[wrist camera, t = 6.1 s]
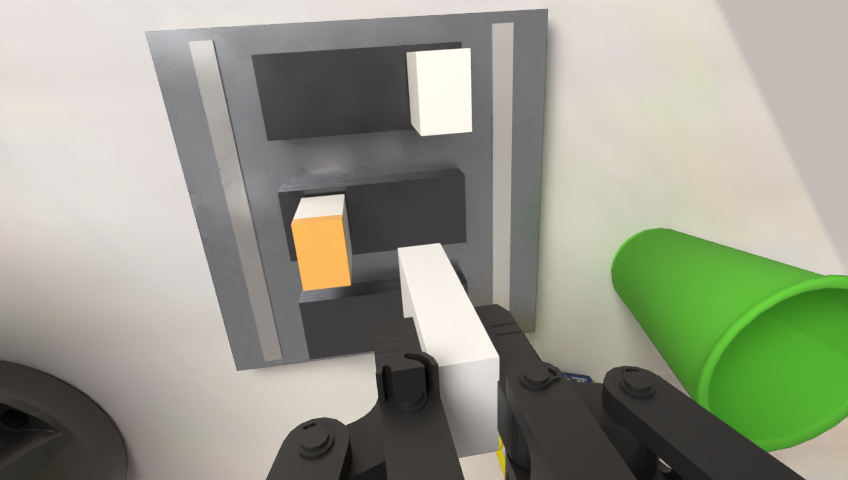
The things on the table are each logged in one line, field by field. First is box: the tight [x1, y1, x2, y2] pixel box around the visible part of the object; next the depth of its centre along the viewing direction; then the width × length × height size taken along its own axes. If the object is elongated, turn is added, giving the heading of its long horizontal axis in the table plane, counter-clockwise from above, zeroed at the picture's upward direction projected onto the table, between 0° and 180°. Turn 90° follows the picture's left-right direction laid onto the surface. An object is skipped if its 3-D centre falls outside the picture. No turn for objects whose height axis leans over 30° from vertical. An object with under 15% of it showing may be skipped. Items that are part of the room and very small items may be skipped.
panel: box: [145, 9, 548, 371], centre depth 24 cm, size 18×18×3 cm
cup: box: [611, 228, 848, 452], centre depth 24 cm, size 9×9×11 cm
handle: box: [406, 48, 472, 136], centre depth 18 cm, size 2×3×4 cm, turn 3°
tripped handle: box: [291, 194, 352, 291], centre depth 20 cm, size 2×3×4 cm, turn 3°
